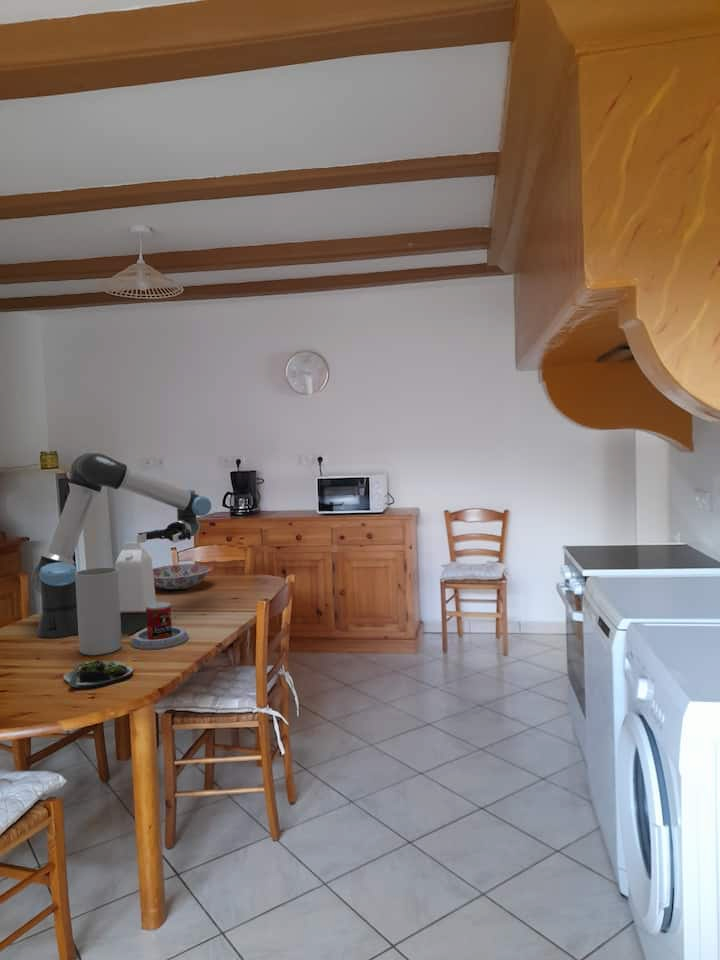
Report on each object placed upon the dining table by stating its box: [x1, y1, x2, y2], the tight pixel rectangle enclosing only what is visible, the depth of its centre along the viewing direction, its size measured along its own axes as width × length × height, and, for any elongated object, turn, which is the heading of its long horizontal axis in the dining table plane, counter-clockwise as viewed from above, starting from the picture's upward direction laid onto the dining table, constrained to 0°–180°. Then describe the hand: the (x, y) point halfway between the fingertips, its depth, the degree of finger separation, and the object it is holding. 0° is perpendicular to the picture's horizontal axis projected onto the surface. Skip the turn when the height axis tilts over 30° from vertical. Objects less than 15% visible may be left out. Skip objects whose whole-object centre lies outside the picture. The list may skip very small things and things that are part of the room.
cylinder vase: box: [75, 567, 123, 656], centre depth 210 cm, size 12×12×25 cm
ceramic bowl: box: [153, 563, 212, 590], centre depth 298 cm, size 29×29×8 cm
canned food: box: [145, 601, 173, 640], centre depth 217 cm, size 8×8×11 cm
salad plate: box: [63, 659, 134, 690], centre depth 186 cm, size 19×18×5 cm
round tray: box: [130, 626, 189, 651], centre depth 218 cm, size 18×18×2 cm
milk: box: [114, 541, 157, 612], centre depth 263 cm, size 12×12×26 cm
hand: (155, 539), depth 240 cm, fingers open, 13 cm apart
